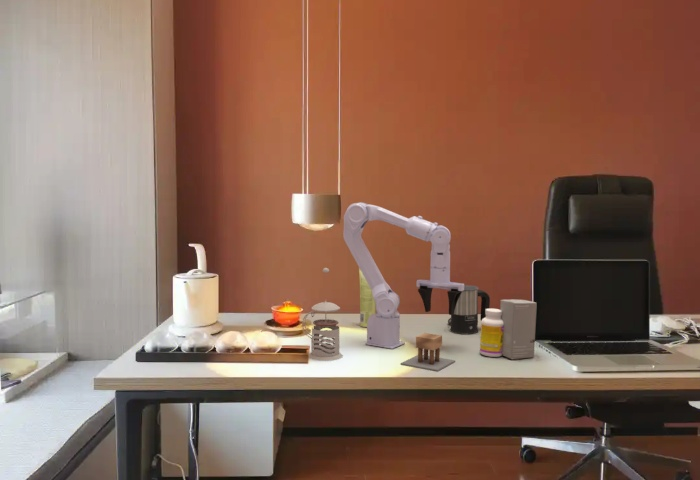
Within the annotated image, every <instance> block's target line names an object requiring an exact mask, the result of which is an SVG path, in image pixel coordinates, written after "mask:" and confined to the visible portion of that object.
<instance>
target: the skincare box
mask: <svg viewBox="0 0 700 480" xmlns="http://www.w3.org/2000/svg"><path fill="white" fill-rule="evenodd" d="M499 307H500V309H499V310H501V311H502V316H501V319H502V321H503V323H504V329H503V343H502V356H503V357H505V358H508V359H509V360H517V359H527V358H528V359H529V358H534V357H535V342H536V341H535V340H536V328H537V327H536V324H537V310H538V309H537V301H536V302H535V301H531V300H527V299H515V298H513V299H512V298H511V299H500V305H499Z"/></svg>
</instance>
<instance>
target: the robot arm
mask: <svg viewBox="0 0 700 480" xmlns="http://www.w3.org/2000/svg"><path fill="white" fill-rule="evenodd" d="M372 221H373V222H374V221H382V222H384V223H388V224H390V225H394V226H397V227H399V228H403V229H404V230H405V232H406V234H407V235H409V236H411V237H414V238H416V239H418V240H422V241H424V242H426V243H427V242H430V243H431V251H430V265H429V266H430V268H429V269H430V270H429V271H430V275H429V277H430V278H429V279H417V280H416V288H418V289H417V292H418V293H419V295H420V298H421V299H422V303H423V305H424V306H423V307H424V311H425V313H428V312H431V309H432V307H431V306H432V294H433V293H432V292H433V289H440V290H441V289H442V290H448V291H447V298H448V315H449V316H451V315H452V314H454V311H455V307H456V304H457V301H458V299H459V297H460V295H461V293H462V291H463V290H464V285H465V283H461V282H454V281H450V280H451V251H450V249H451V245H450V243H451V240H452V237H451V235H452V234H451V231H450V230H449V229H448V227H446V226H444V225H441V224H440V225H438V224H439V223H438V222H432V221H429V220H426V219H424V218H423V216H421V215H418V216H415V215H414V216H411V217H409V218H408V217H406V216H404V215H400V214H398V213H397V212H393V211H391V210H388V209H386V208H384V207H381V206H379V205H375V204H370V203H369V204H368V203H366V202H363V201H362V202H361V201H360V202H355V203H354V202H353V203H351V204H350V205H349V206H348V207H347V209H346V211H345V213H344V215H343V234H342V238H343V240H344V243H345V244H346V246H347V247H348V249H349V251H350V254H351V256H352V257H353V259H354V260H355V263H356V264H357V266H358V269H360V270H361V272H362V274H363V275H364V277H365V279H366V281H367V283H368V285H369V286H370V288H371V290H372V295H373V298H374V300H375V302H376V306H375V314H372V315H370V316H369V318H368V322H367V327H366V342H365V345H367V346H368V345H369V346H375V347H379V348H380V347H381V348H385V349H395V348H398V347H401V346H403V345H405V343H406V341H402V340H400V339H401V338H400V337H401V336H400V334H401V333H400V332H401V331H400V330H401V328H400V327H401V325H400V323H401V314H400V312H399V311H398V310H397V309H398V308H399V307H400V305H401V300H400V296H399V295H398V293H396V292H395V291H394V290H392V289H391V286H390V285H389V284H388V282H387V281H386V280H385V278H384V277H383V275H382V272H381V271H380V269H379V267H378V265H377V264H376V262H375V260H374V257H373V256H372V254H371V252H370V251H369V249H368V247H367V245H366V244H365V241H364V239H363V238H362V234H363V231H364V228H365V226H366V224H367V223H368V222H372Z"/></svg>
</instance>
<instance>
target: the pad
mask: <svg viewBox="0 0 700 480" xmlns="http://www.w3.org/2000/svg"><path fill="white" fill-rule="evenodd" d="M429 360H430V355H428V360H424V354H423V362H422V363H420V362H418V354H416V355H415V356H413V357H411V358H408V359H407V360H404V361H403V362H400V365H401V366H406V367H410V368H411V367H413V368H417V369H423V370H426V371H427V370H428V371H433V372H439V371H441V370H443V369H446V368H447V367H449V366H450V365H452V364H454V363H456V359H449V358H444V357H439V362H436V361H435V356H434V364H433V365H431V364H429Z"/></svg>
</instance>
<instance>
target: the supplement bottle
mask: <svg viewBox="0 0 700 480" xmlns="http://www.w3.org/2000/svg"><path fill="white" fill-rule="evenodd" d="M485 314H486V317H485V318H483V319H482V321H481V320H480V321H481V322H480V338H479V342H480V343H479V353H480V354H481V355H482V356H485V357H492V358H499V357H502V356H503V355H502V343H503V329H504V323H503V321H502V319H501V316H502V311H501V310H500V309H498V308H489V309H486V310H485Z"/></svg>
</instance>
